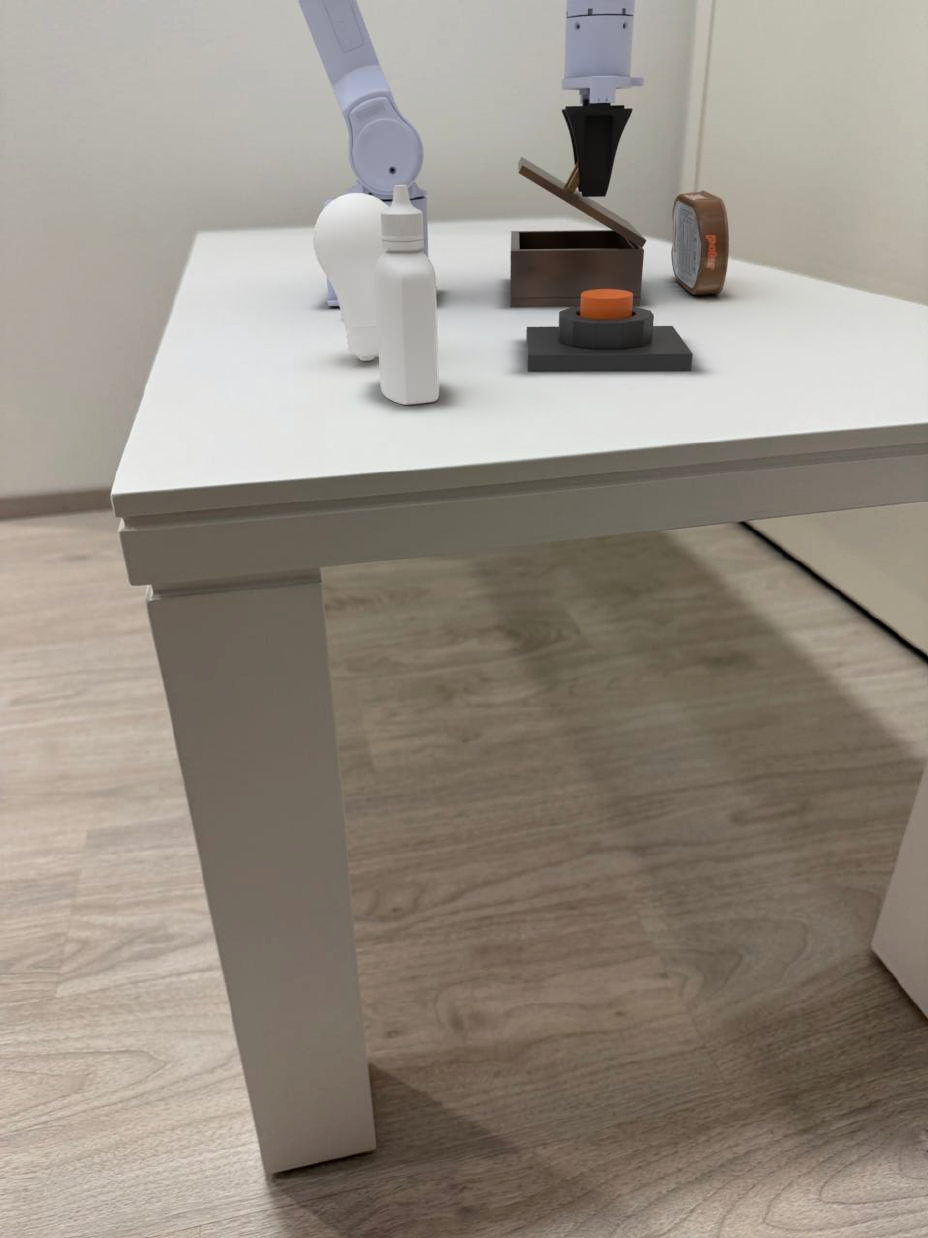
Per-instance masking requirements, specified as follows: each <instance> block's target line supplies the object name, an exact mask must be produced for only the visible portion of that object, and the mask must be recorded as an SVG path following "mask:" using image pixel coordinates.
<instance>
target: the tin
mask: <svg viewBox="0 0 928 1238" xmlns="http://www.w3.org/2000/svg"><path fill="white" fill-rule="evenodd" d="M672 207H673V208H672V213H671V214H672V216H671V219H672V245H671V253H670V254H671V255H670V257H671V265H672V271H673V275H674V279H675V281H677V282H678V284H680V285H681V286H682V287H683V288H684V289H685V290H686V291H687V292H688V293H689V294H691V295H692V296H704V295H716V296H718V295H720V294H721V292H722V291H723V289H724V286H725V283H726V278H727V273H728V266H729V252H730V236H729V233H730V231H729V230H730V229H729V219H728V213H727V208H726V205H725V202H724V200H723V198H721V197H719V196H717V195H715V194H712V193H710V192H708V191H707V190H703V189H702V190H701V191H696V192H686V193H685V192H683V193H680V194H678V195H677V196H676V198H675V199H674V202H673V206H672Z"/></svg>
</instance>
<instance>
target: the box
mask: <svg viewBox="0 0 928 1238" xmlns="http://www.w3.org/2000/svg"><path fill="white" fill-rule="evenodd" d="M644 256H645V249H644V247H643V248H641V247H640V246H638V245H637V244H635V243H633V242H632V241H630V240H628V239H627V238H625V237H623V236H622V235H620V234H618V233H617V232H615V231H613V230H612V229H581V230H580V229H579V230H577V229H576V230H575V229H574V230H572V229H571V230H570V229H569V230H567V229H566V230H512V231H511V232H510V266H509V267H510V273H509V274H510V276H509V277H510V280H509V281H510V282H509V283H510V284H509V286H510V287H509V289H510V290H509V291H510V292H509V296H510V297H509V306H510V308H570V307H577V306H581V293H582V292H585V291H588V290H596V289H616V290H624V291H629V292H631V293H633V303H632V306H634V307H640V306H641V297H642V287H643V286H642V284H643V272H644V271H643V270H644Z"/></svg>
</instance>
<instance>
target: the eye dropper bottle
mask: <svg viewBox="0 0 928 1238" xmlns="http://www.w3.org/2000/svg"><path fill="white" fill-rule="evenodd" d="M381 226H382V245H383V249H387V251H385V252H384V253H383V255H382V256H381V257H380V258H379V259H378V261H377V263H376V265H375V270H374V280H375V299H376V316H377V333H378V350H379V354H378V365H379V366H378V367H379V383H380V390H381V393H382V395H383V396H384V397H385V398H387V399H388V400H390V401H392V402H394V403H396V404H400V405H403V406H404V405H405V406H412V405H420V404H421V405H422V404H430V403H434V402H436V401H437V400H438V399H439V397H440V372H439V370H440V369H439V367H440V365H439V338H438V337H439V333H438V304H437V303H438V302H437V291H436V287H437V278H436V277H437V276H436V271H435V268H434V265H433V263H432V262H431V260H430V258H428V257H429V256H428V257H427V256H426V255H425V253H424V252H423V251H422V250H419V249H421V248H424V239H423V238H424V233H423V212H422V211H420V210H418V209H417V208H415V207H414V206H412V204H411V202H410V198H409V194H408V189H407V185H395V186H394V194H393V201H392V204H391V206H390V207H389V208H388V209H386V210H384V211H383V212H382V213H381Z"/></svg>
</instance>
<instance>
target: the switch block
mask: <svg viewBox="0 0 928 1238" xmlns="http://www.w3.org/2000/svg"><path fill="white" fill-rule="evenodd" d="M654 317H655V315H654V313H653V312H652V311H651V310H650V309H646V308H642V307H639V306H632V317H629V318H622V319H592V318H585V317H581V316H580V306H577V307H567V308H565V309H562V310H560V311H559V312H558V326H526V333H525V335H526V337H525V339H526V340H525V343H526V345H525V347H526V363H527V364H526V366H527V367H526V368H527V372H528V373H559V372H560V373H561V372H562V373H564V372H567V373H568V372H569V373H571V372H575V373H577V372H578V373H579V372H582V373H583V372H585V373H586V372H589V373H591V372H691V371H692V367H693V365H692V364H693V356H694V353H693V352H692V351H691V349H690V348H689V347H688V345H687V344H686V342H685V341H684V340H683V338H682V337H681V336H680V334H679V332H677V330H676V328H675V327H674V326H673V325H654V319H655V318H654Z"/></svg>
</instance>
